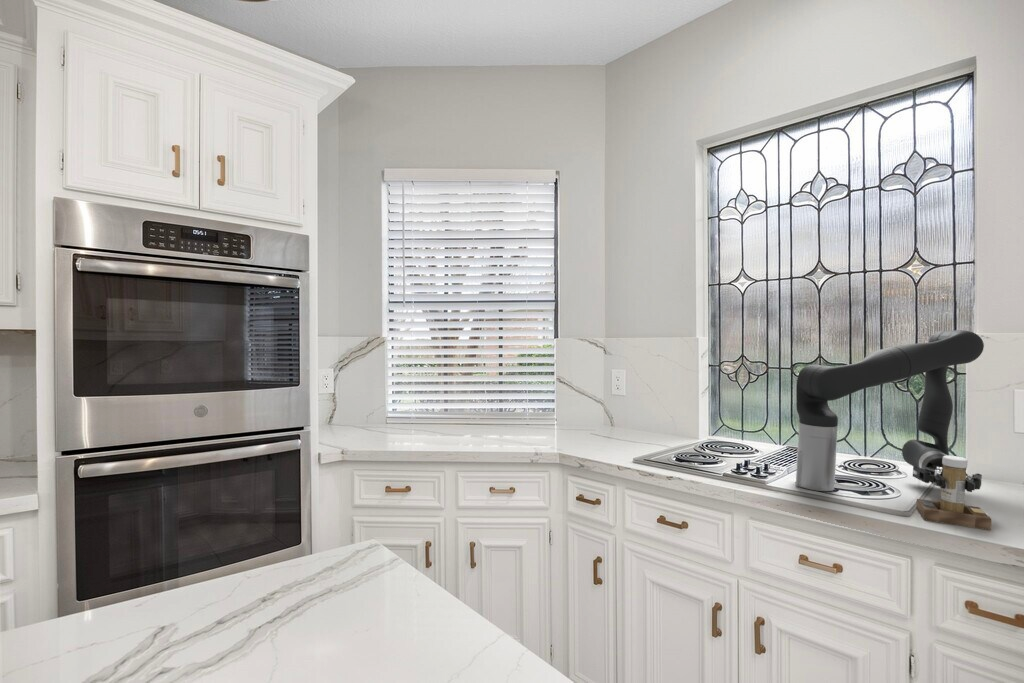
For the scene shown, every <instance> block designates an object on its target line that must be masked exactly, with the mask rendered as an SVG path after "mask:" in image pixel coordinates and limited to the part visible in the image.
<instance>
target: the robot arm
mask: <svg viewBox="0 0 1024 683" xmlns="http://www.w3.org/2000/svg"><path fill="white" fill-rule="evenodd" d="M984 347H985V344H984V341H983V339H982V337H980V335H978V334H977V333H976V332H973V331H970V330H964V329H963V330H962V329H961V330H959V329H958V330H956V329H953V330H951V329H950V330H947V329H946V330H938V331H936V332H933V334H932V335H931V336H930V338H929V340H928V342H923V343H922V342H921V343H920V342H919V343H906V344H901V345H900V344H899V345H893V346H889V347H886V348H881V349H878V350H875V351H873V352H870V353H869V354H867V355H866V356H865V357H864V358H862V360H860V361H858V362H854V363H850V364H846V365H836V366H828V365H822V364H807V365H806V366H804V367H802V369H801V370H800V371H799V373H798V375H797V378H796V384H795V386H796V387H795V388H796V390H795V391H796V394H795V396H796V398H795V400H796V402H795V404H796V412H797V414H798V438H797V440H798V441H797V453H796V454H797V455H796V468H795V469H796V470H795V471H796V473H795V487H800V488H803V489H806V490H810V491H819V492H832V491H834V490H835V483H836V478H835V477H836V463H837V462H836V460H837V446H838V444H837V443H838V430H839V429H838V427H839V426H838V424H839V423H838V422H839V417H838V415H837V414H836V413H835V412H834V411H833V410H832V409H831V408H830V406H829V402H828V401H835V400H838V399H842V398H845V397H847V396H849V395H851V394H853V393H856V392H859V391H861V390H864V389H867V388H872V387H878V386H881V385H884V384H889V383H893V382H898V381H901V380H904V379H907V378H910V377H913V376H918V375H921V374H924V373H925V374H924V377H925V378H924V391H923V399H922V402H921V403H922V404H921V408H920V410H919V411H920V412H919V414H918V419H917V424H916V428H917V430H918V431H919V432H921V433H923V434H926V435H928V436H930V437H932V439H933V441H934V443H931V442H927V441H923V440H920V439H909V440H908V441H906V442H905V443H904V444H903V446H902V449H901V455H902V456H901V457H902V458H903V460H904V461H905V462H906V463H907V464H908V465H910V466H912V477H914V479H917V480H919V481H922V482H923V483H925V484H930V483H931V484H932V485H934V486H936V487H939V489H941V488H944V489H945V479H944V478H943V477H942V475H943V464H942V459H943V456H947V455H949V456H950V451H949V444H948V443H949V442H948V435H949V434H948V432H949V426H950V425H951V420H952V416H953V410H954V406H953V405H954V404H953V399H952V395H951V391H950V389H949V386H948V381H947V373H948V369H949V367H951V366H957V365H964V364H969V363H972V362H974V361H976V360H977V359H978V358H979V357H981V355H982V353H983V352H984ZM982 477H983V474H980V473H974V474H972V475H968V473H967V472H966V486H965V492H969V493H972V492H973V491H977V490H980V489H981V486H982V482H983V479H982Z"/></svg>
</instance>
